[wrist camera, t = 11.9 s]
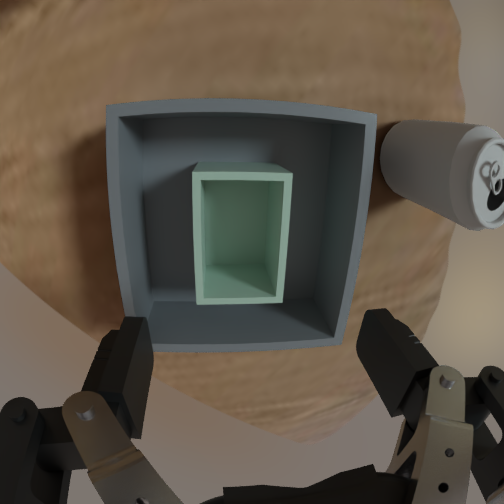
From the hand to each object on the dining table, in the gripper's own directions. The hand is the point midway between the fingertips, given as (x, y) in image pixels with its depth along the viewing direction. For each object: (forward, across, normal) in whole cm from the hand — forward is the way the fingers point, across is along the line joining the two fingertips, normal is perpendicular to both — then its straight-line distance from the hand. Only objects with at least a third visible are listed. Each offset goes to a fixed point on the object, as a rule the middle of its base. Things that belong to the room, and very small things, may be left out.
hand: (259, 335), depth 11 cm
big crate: (+16, 0, 0) cm, 16 cm away
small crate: (+15, 0, 0) cm, 16 cm away
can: (+16, -16, -6) cm, 24 cm away
